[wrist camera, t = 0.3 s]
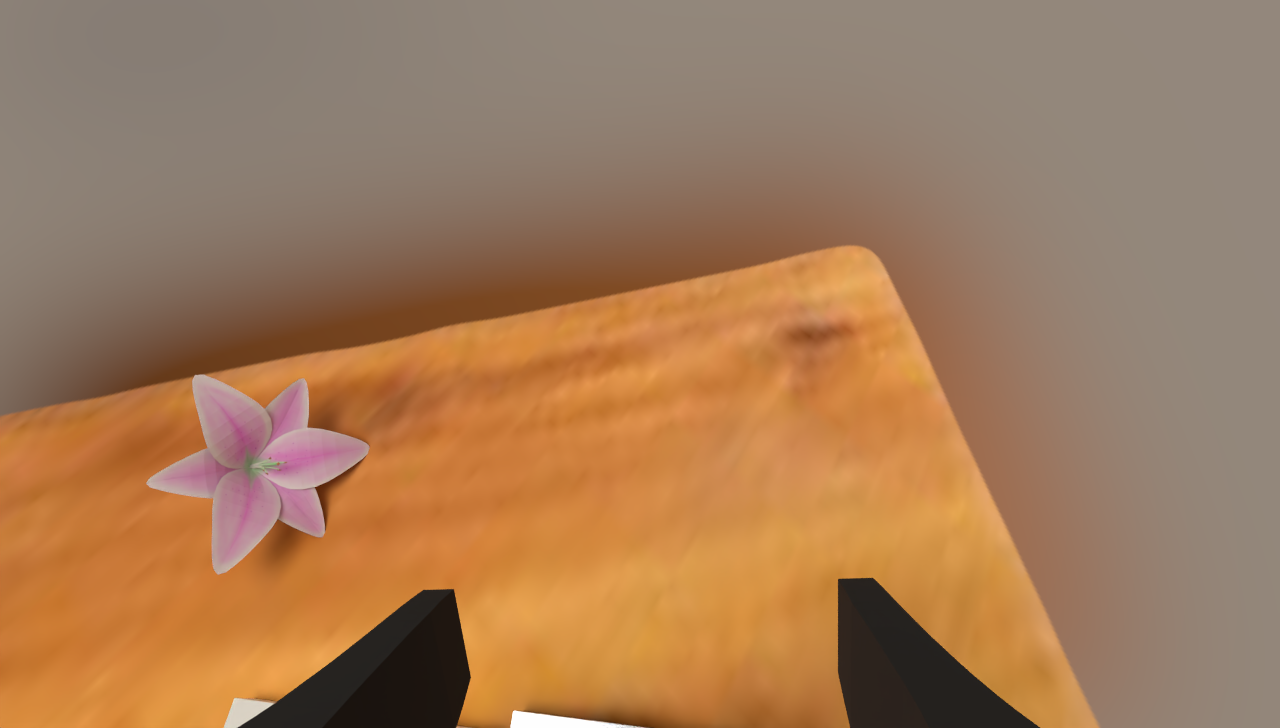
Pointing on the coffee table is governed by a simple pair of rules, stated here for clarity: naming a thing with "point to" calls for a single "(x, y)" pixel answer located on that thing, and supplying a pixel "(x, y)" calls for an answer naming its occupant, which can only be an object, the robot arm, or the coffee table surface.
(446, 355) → the coffee table surface
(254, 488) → the lily
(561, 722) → the metal frame
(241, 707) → the white square tray
